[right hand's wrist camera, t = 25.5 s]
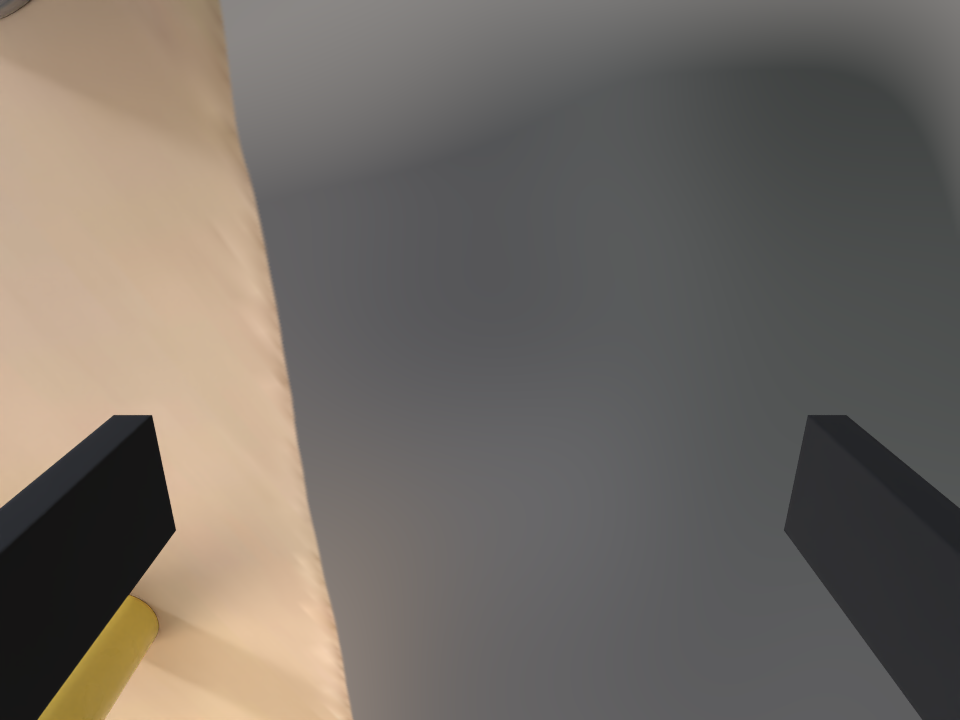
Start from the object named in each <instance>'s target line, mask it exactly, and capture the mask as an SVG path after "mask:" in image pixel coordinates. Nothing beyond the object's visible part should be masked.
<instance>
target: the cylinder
mask: <svg viewBox="0 0 960 720" xmlns="http://www.w3.org/2000/svg"><path fill="white" fill-rule="evenodd" d="M158 628H159V626H158V620H157V617H156V615H155V613H154V612H153V610H152V609H151V608H150V607H149V606H148V605H147V604H146V603H144V602H143V601H141V600H140V599H138V598H136V597H133V596H131V595H128V597H127V598H126V599H125V601H124V602H123V603H122V605H121V606H120V608H119V609H118V610H117V612H116V613H115V614H114V616H113V617H112V618H111V620H110V621H109V623H108V624H107V625H106V627H105V628H104V629H103V631H102V632H101V634H100V635H99V636H98V638H97V639H96V640H95V642H94V643H93V644H92V646H91V647H90V649H89V650H88V651H87V653H86V654H85V655H84V657H83V658H82V660H81V661H80V662H79V664H78V665H77V666H76V668H75V669H74V670H73V672H72V673H71V675H70V676H69V677H68V679H67V680H66V681H65V683H64V684H63V686H62V687H61V688H60V690H59V691H58V692H57V694H56V695H55V696H54V698H53V699H52V701H51V702H50V703H49V705H48V706H47V707H46V709H45V710H44V712H43V713H42V714H41V716H40V717H39V718H38V720H104V719H105V718H106V716H107V715H108V713H109V711H110V710H111V708H112V707H113V705H114V703H115V702H116V700H117V699H118V697H119V695H120V694H121V692H122V690H123V689H124V687H125V686H126V684H127V682H128V681H129V679H130V678H131V676H132V674H133V673H134V671H135V670H136V668H137V666H138V665H139V663H140V661H141V660H142V658H143V657H144V655H145V653H146V652H147V650H148V649H149V647H150V645H151V644H152V642H153V640H154V639H155V637H156V635H157V633H158Z"/></svg>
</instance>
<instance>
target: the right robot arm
mask: <svg viewBox="0 0 960 720" xmlns="http://www.w3.org/2000/svg"><path fill="white" fill-rule="evenodd" d="M28 1H29V0H0V19H1V18H3V17H6V16H8V15H9V14H11V13H13V12H15V11H17V10H18V9H19V8H21V7H22V6H24V5H25V4H26V3H27V2H28ZM175 531H176V528H175V523H174V519H173V514H172V509H171V504H170V499H169V495H168V490H167V485H166V480H165V475H164V471H163V466H162V461H161V456H160V451H159V446H158V442H157V437H156V432H155V427H154V422H153V418H152V415H113V416H112V417H111V418H110V419H109V420H107V421H106V422H105V423H104V424H102V425H101V426H100V427H99V428H98V429H96V430H95V431H94V432H93V433H92V434H90V435H89V436H88V437H87V438H85V439H84V440H83V441H82V442H81V443H79V444H78V445H77V446H76V447H74V448H73V449H72V450H71V451H70V452H68V453H67V454H66V455H65V456H64V457H62V458H61V459H60V460H59V461H57V462H56V463H55V464H54V465H53V466H51V467H50V468H49V469H48V470H47V471H45V472H44V473H43V474H42V475H40V476H39V477H38V478H37V479H36V480H34V481H33V482H32V483H31V484H29V485H28V486H27V487H26V488H25V489H23V490H22V491H21V492H20V493H19V494H17V495H16V496H15V497H14V498H12V499H11V500H10V501H9V502H8V503H6V504H5V505H4V506H3V507H2V508H0V720H38V718H39V717H40V716H41V714H42V713H43V712H44V710H45V709H46V707H47V706H48V705H49V703H50V702H51V701H52V699H53V698H54V696H55V695H56V694H57V692H58V691H59V690H60V688H61V687H62V686H63V684H64V683H65V681H66V680H67V679H68V677H69V676H70V675H71V673H72V672H73V670H74V669H75V668H76V666H77V665H78V664H79V662H80V661H81V660H82V658H83V657H84V655H85V654H86V653H87V651H88V650H89V649H90V647H91V646H92V644H93V643H94V642H95V640H96V639H97V638H98V636H99V635H100V634H101V632H102V631H103V629H104V628H105V627H106V625H107V624H108V623H109V621H110V620H111V618H112V617H113V616H114V614H115V613H116V612H117V610H118V609H119V608H120V606H121V605H122V603H123V602H124V601H125V599H126V598H127V597H128V595H129V594H130V592H131V591H132V590H133V588H134V587H135V586H136V584H137V583H138V582H139V580H140V579H141V577H142V576H143V575H144V573H145V572H146V571H147V569H148V568H149V566H150V565H151V564H152V562H153V561H154V560H155V558H156V557H157V556H158V554H159V553H160V551H161V550H162V549H163V547H164V546H165V545H166V543H167V542H168V540H169V539H170V538H171V536H172V535H173V534H174V532H175ZM784 531H785V532H786V534H787V535H788V536H789V538H790V539H791V540H792V542H793V543H794V545H795V546H796V547H797V549H798V550H799V551H800V553H801V554H802V556H803V557H804V558H805V560H806V561H807V562H808V564H809V565H810V566H811V568H812V569H813V571H814V572H815V573H816V575H817V576H818V577H819V579H820V580H821V582H822V583H823V584H824V586H825V587H826V588H827V590H828V591H829V592H830V594H831V595H832V597H833V598H834V599H835V601H836V602H837V603H838V605H839V606H840V608H841V609H842V610H843V612H844V613H845V614H846V616H847V617H848V618H849V620H850V621H851V623H852V624H853V625H854V627H855V628H856V629H857V631H858V632H859V634H860V635H861V636H862V638H863V639H864V640H865V642H866V643H867V644H868V646H869V647H870V649H871V650H872V651H873V653H874V654H875V655H876V657H877V658H878V660H879V661H880V662H881V664H882V665H883V666H884V668H885V669H886V670H887V672H888V673H889V675H890V676H891V677H892V679H893V680H894V681H895V683H896V684H897V686H898V687H899V688H900V690H901V691H902V692H903V694H904V695H905V696H906V698H907V699H908V701H909V702H910V703H911V705H912V706H913V707H914V709H915V710H916V712H917V713H918V714H919V716H920V717H921V718H922V720H960V508H958V507H957V506H956V505H955V504H954V503H952V502H951V501H950V500H949V499H948V498H946V497H945V496H944V495H943V494H941V493H940V492H939V491H938V490H937V489H935V488H934V487H933V486H932V485H931V484H929V483H928V482H927V481H926V480H924V479H923V478H922V477H921V476H920V475H918V474H917V473H916V472H915V471H913V470H912V469H911V468H910V467H909V466H907V465H906V464H905V463H904V462H903V461H901V460H900V459H899V458H898V457H896V456H895V455H894V454H893V453H892V452H890V451H889V450H888V449H887V448H885V447H884V446H883V445H882V444H881V443H879V442H878V441H877V440H876V439H875V438H873V437H872V436H871V435H870V434H868V433H867V432H866V431H865V430H864V429H862V428H861V427H860V426H859V425H858V424H856V423H855V422H854V421H853V420H851V419H850V418H849V417H848V416H846V415H808V418H807V422H806V427H805V432H804V437H803V442H802V447H801V451H800V456H799V461H798V466H797V471H796V475H795V480H794V485H793V490H792V495H791V499H790V504H789V509H788V514H787V519H786V524H785V528H784Z"/></svg>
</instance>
